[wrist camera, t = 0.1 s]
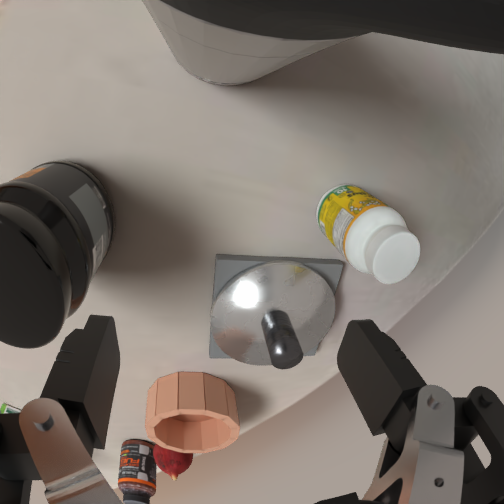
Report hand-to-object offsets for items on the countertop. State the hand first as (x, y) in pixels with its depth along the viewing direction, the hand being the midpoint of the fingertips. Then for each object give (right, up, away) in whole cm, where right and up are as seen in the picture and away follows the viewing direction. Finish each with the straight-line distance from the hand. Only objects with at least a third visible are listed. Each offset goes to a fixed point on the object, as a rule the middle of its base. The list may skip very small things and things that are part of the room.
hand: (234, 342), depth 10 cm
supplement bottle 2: (+9, +7, +18) cm, 21 cm away
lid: (+3, -3, +20) cm, 21 cm away
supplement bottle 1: (-18, -29, +31) cm, 46 cm away
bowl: (-7, -16, +26) cm, 32 cm away
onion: (-11, -25, +30) cm, 41 cm away
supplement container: (-16, +6, +14) cm, 22 cm away
